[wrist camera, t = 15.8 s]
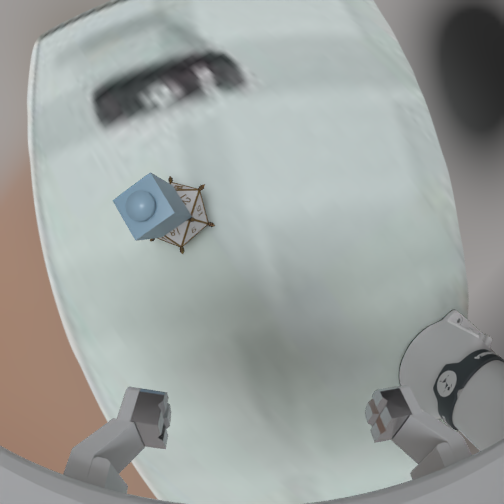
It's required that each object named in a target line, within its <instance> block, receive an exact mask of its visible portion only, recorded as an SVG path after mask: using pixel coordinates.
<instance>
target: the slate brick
mask: <svg viewBox="0 0 504 504" xmlns="http://www.w3.org/2000/svg"><path fill="white" fill-rule="evenodd" d="M113 202H114V203H115V205H116V207H117V209H118V211H119V212H120V214H121V216H122V218H123V220H124V221H125V223H126V225H127V226H128V228H129V230H130V232H131V233H132V235H133V237H134V238H135V240H144V239H153V238H162V237H163V236H165V235H166V234H167V233H169V232H170V231H172V230H173V229H175V228H176V227H178V226H179V225H181V224H182V223H184V222H185V221H187V220H188V219H190V218H191V217H192V216H191V214H190V213H189V211H188V209H187V208H186V206H185V205H184V203H183V201H182V200H181V198H180V197H179V195H178V193H177V192H176V190H175V188H174V187H173V186H172V185H171V184H169V183H167V182H166V181H164V180H162V179H161V178H159V177H157V176H155V175H154V174H152V173H149V174H148V175H146V176H145V177H143V178H142V179H141V180H139V181H138V182H137V183H135V184H134V185H133V186H131V187H130V188H129V189H127V190H126V191H125V192H123V193H122V194H121V195H119V196H118V197H117V198H115V199H114V200H113Z"/></svg>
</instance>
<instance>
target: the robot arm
mask: <svg viewBox="0 0 504 504" xmlns="http://www.w3.org/2000/svg"><path fill="white" fill-rule="evenodd" d="M457 320H458V321H457ZM492 341H493V339H492V338H491V337H490V336H488V335H486V334H483V333H482V332H481V331H480V330H479V329H478V328H477V327H475V326H474V325H473V324H472V323H471V322H469V320H467V319H466V318H465V317H464V316H463V315H462V314H460V313H459V312H458V311H456V310H452V311H451V312H450V313H449V314H447V315H446V316H445V317H444V319H443V320H441V321H439V322H437V323H435V324H432V325H431V326H429V327H427V328H426V329H424V330H423V331H422V332H421V333H420V334H419V335H418V336H417V337H416V338H415V339H414V340H413V342H412V343H411V344H410V346H409V347H408V349H407V351H406V353H405V355H404V357H403V360H402V363H401V366H400V373H399V379H400V384H401V386H398V387H391V388H385V389H378V390H376V391H374V393H373V394H372V397H373V399H372V400H371V401H369V402H368V404H367V406H366V411H365V414H366V419H367V422H368V423H369V424H370V425H372V428H371V433H372V436H373V439H374V442H381V441H386V440H391V439H392V441H393V442H394V443H395V444H396V445H398V446H399V447H400V448H401V449H402V450H403V451H404V452H405V453H406V454H407V455H409V456H410V457H411V458H412V459H413V460H414V461H415V462H416V463H418V465H417V466H416V467H415V468H414V469H413V470H412V471H411V473H410V474H411V477H412V480H410V481H407V482H404V483H401V484H398V485H394V486H391V487H388V488H384V489H380V490H376V491H372V492H368V493H364V494H360V495H355V496H350V497H345V498H340V499H334V500H328V501H321V502H314V503H306V504H504V360H503V359H502V358H501V357H500V356H498V355H497V354H496V353H495V352H493V350H491V343H492ZM167 402H168V394H167V392H160V391H153V390H147V389H141V388H135V387H128V388H127V390H126V392H125V395H124V398H123V401H122V404H121V407H120V410H119V413H118V416H117V419H114V418H113V419H112V420H110V421H109V422H108V423H106V424H105V425H104V426H102V427H101V428H100V429H98V430H97V431H95V432H94V433H93V434H91V435H90V436H89V437H87V438H86V439H85V440H83V441H82V442H80V443H79V444H78V445H76V446H75V447H73V448H72V451H71V454H70V457H69V459H68V462H67V465H66V469H65V471H64V474H60V473H58V472H55V471H53V470H50V469H48V468H45V467H43V466H40V465H38V464H36V463H34V462H31V461H29V460H27V459H25V458H23V457H21V456H19V455H17V454H15V453H13V452H11V451H9V450H7V449H5V448H4V447H2V446H0V504H184V503H176V502H169V501H162V500H156V499H150V498H144V497H139V496H135V495H130V494H127V488H128V486H127V484H126V483H125V482H124V480H123V479H122V478H121V477H120V475H119V473H120V472H121V471H122V470H123V469H124V468H125V467H126V466H127V465H128V464H129V463H130V462H131V461H132V460H133V459H134V458H135V457H136V456H137V455H138V454H139V453H140V452H141V451H142V450H143V449H144V448H145V447H144V446H146V447H153V448H161V449H166V444H167V438H168V434H167V430H166V429H167V428H168V427H169V426H170V421H171V408H170V404H169V403H167ZM422 411H423V412H422ZM438 419H443V420H444V422H445V423H446V424H447V425H448V426H447V425H446V424H444V423H442V422H441V421H439V420H438ZM449 426H450V427H452V428H453V429H455V430H459V431H460V432H461V433H462V434H463V435H464V436H465V437H466V438H467V439H468V440H469V441H470V442H471V443H473V445H474V446H476V448H477V449H478V450H479V451H480V452H478V453H476V454H474V455H472V454H471V452H470V450H469V448H468V446H467V444H466V442H465V440H464V438H463V436H462V435H461V434H460V433H458V432H457V431H455V430H453V429H452V428H450V427H449Z"/></svg>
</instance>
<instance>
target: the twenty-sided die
mask: <svg viewBox="0 0 504 504" xmlns="http://www.w3.org/2000/svg"><path fill="white" fill-rule="evenodd" d="M172 179H173V178H171V177H169V182H170V183H169V184H171V185H172V186H173V187H174V188H175V190H176V192H177V193H178V195H179V197H180V198H181V200H182V201H183V203H184V205H185V206H186V208H187V209H188V211H189V213H190V214H191V216H192V217H191V218H190V219H188V220H187V221H185V222H184V223H182V224H181V225H179V226H178V227H176V228H175V229H173V230H172V231H170V232H169V233H167V234H166V235H165V236H163V237H162V238H158V239H160V240H163V241H166V242H168V243H171V244H173V245H176V246H179V247H180V252H181V253H182V254H183V253H184V248H183V246H184V245H185V244H186V243H187V242H189V241H190V240H191V239H192V238H193V237H194V236H195V235H197V234H198V233H199V232H200V231H201V230H202V229H203V228H204V227H206V226H207V225H209V226H211V227H213V226H215V225H214V224H213V223H211V222H208V219H207V215H206V211H205V207H204V204H203V200H202V196H201V192H200V191H201V190H203V189H204V186H205V184H204V185H201V186H199V189H196V188H193V187H189V186H185V185H181V184H177V183H173V182H172V181H173V180H172ZM154 240H155V238H153V239H150V241H154Z"/></svg>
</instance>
